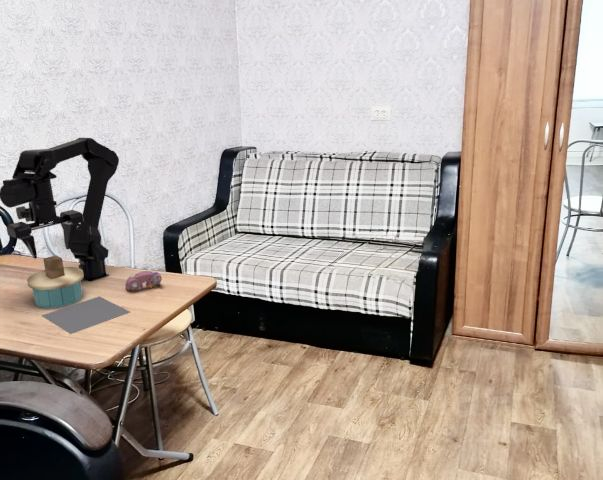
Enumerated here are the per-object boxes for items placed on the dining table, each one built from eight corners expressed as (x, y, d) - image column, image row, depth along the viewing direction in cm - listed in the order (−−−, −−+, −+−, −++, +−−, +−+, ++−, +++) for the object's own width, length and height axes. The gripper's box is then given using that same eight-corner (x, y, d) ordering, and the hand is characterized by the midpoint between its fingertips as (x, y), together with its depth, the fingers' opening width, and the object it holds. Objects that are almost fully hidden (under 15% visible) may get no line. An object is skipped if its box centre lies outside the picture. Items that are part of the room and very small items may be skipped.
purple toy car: (128, 299, 162) (127, 281, 157) (124, 287, 165) (123, 270, 160) (163, 291, 166) (163, 274, 162) (158, 280, 169) (159, 263, 164)
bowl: (70, 288, 166) (67, 269, 164) (90, 299, 158) (87, 278, 156) (28, 301, 158) (24, 281, 156) (47, 313, 150) (44, 291, 148)
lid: (69, 267, 166) (65, 246, 164) (93, 278, 156) (90, 256, 155) (19, 281, 156) (15, 259, 154) (41, 294, 147) (37, 271, 145)
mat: (99, 298, 159) (99, 296, 159) (130, 313, 148) (130, 311, 148) (41, 317, 148) (41, 315, 148) (70, 335, 137) (70, 333, 137)
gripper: (60, 187, 165) (69, 239, 170) (-8, 201, 152) (4, 257, 157) (80, 192, 158) (89, 246, 163) (11, 207, 145) (22, 265, 150)
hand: (51, 253), depth 158 cm, fingers open, 9 cm apart
